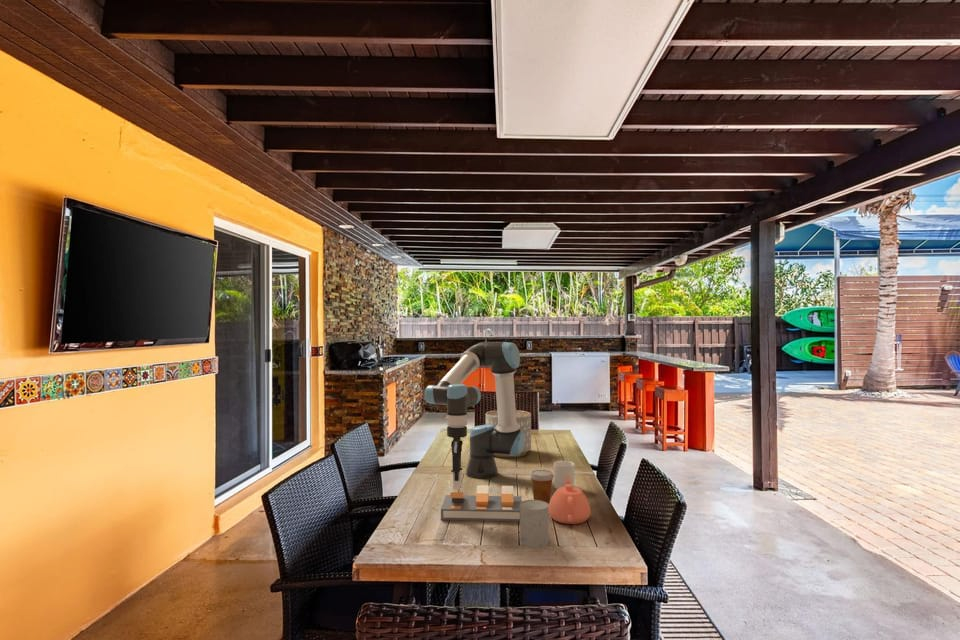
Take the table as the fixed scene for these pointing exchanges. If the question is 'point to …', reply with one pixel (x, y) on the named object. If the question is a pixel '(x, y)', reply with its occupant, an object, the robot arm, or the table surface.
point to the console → (479, 509)
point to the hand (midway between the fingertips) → (456, 488)
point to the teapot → (569, 505)
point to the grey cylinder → (534, 523)
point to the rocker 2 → (482, 495)
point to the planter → (521, 419)
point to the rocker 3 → (507, 496)
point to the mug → (563, 473)
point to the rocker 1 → (457, 495)
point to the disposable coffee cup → (541, 484)
